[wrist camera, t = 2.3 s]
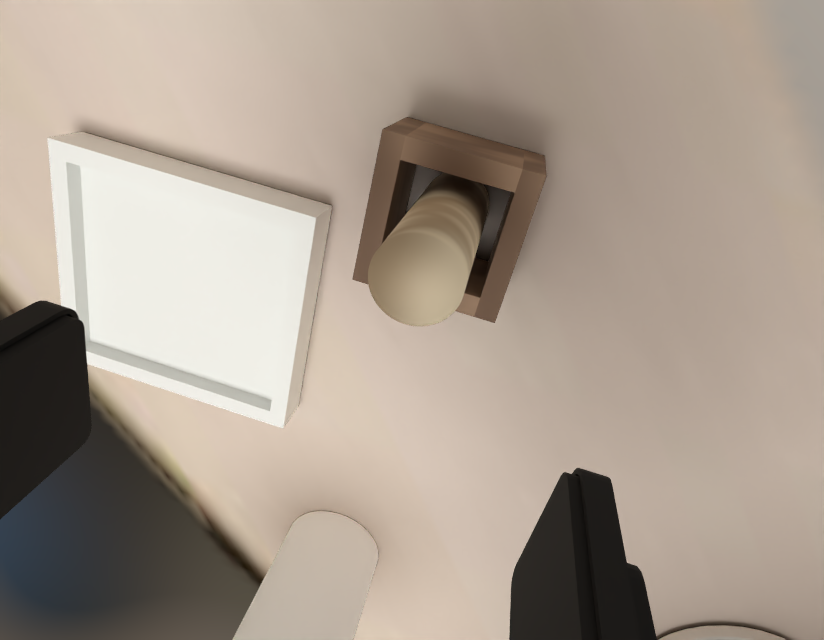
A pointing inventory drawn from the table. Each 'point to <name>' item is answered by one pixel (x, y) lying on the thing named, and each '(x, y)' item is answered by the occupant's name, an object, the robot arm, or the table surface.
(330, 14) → the table surface
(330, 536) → the cylindrical container
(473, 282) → the square wooden box
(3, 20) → the table surface
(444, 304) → the dowel
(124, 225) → the tray
